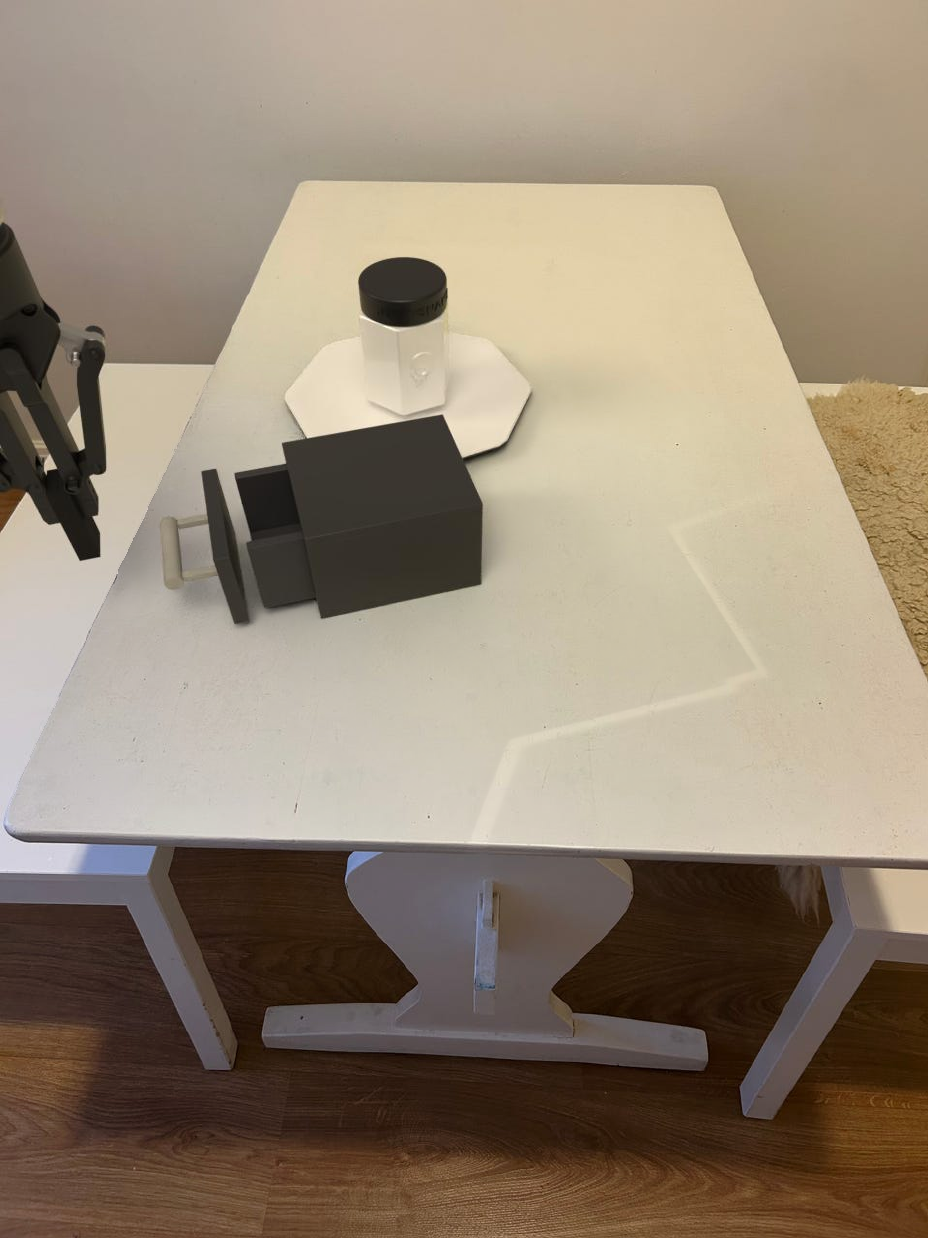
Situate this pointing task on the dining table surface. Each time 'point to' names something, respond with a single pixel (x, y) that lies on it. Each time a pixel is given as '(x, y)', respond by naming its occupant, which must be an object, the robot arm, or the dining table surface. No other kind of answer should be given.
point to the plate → (473, 410)
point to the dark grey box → (386, 514)
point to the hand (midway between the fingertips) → (90, 546)
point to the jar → (405, 333)
